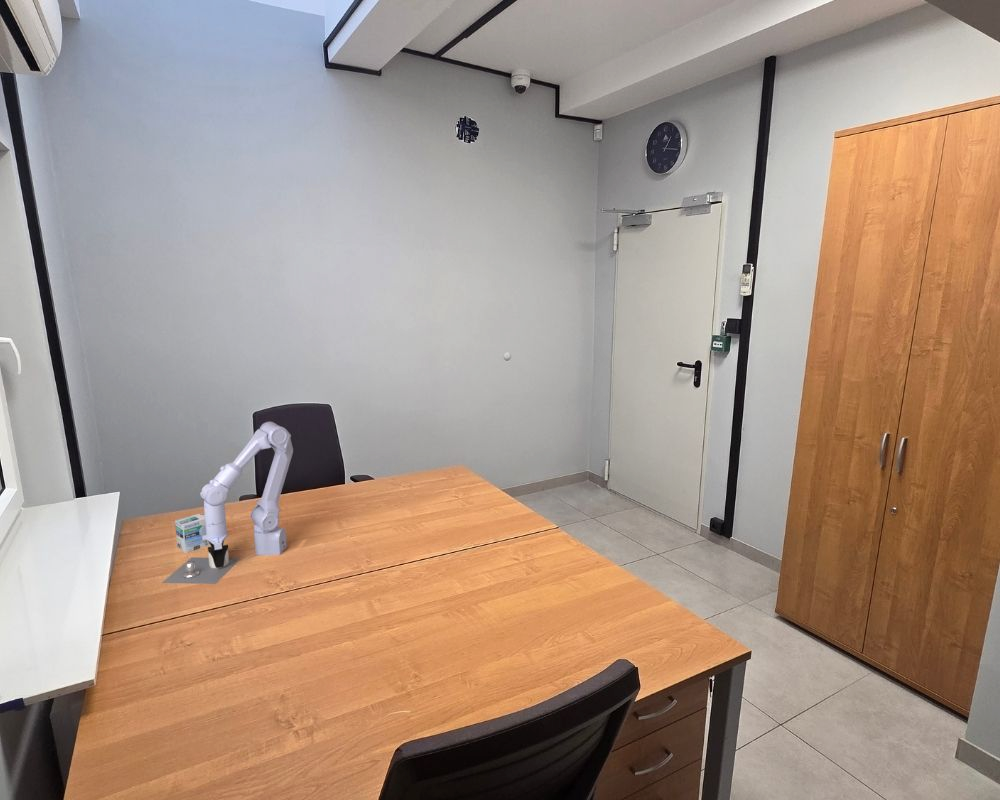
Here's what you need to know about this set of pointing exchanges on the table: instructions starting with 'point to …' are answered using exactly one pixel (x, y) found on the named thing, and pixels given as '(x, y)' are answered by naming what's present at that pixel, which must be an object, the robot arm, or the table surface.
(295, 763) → the table surface
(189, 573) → the chrome cabinet knob
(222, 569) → the base plate
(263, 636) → the table surface
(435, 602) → the table surface
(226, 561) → the cap
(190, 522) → the light bulb box
